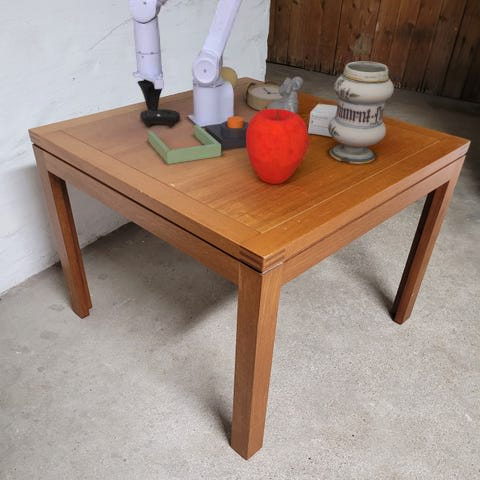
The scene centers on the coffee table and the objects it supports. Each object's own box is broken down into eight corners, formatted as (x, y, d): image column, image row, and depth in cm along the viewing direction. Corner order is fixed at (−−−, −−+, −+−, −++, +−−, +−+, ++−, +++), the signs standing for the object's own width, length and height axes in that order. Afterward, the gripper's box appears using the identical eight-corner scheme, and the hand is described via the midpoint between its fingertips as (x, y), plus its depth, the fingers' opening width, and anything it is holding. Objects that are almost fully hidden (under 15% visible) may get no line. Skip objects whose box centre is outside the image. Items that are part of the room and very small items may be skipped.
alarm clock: (258, 102, 130) (237, 76, 138) (256, 120, 133) (235, 94, 142) (297, 98, 133) (274, 73, 142) (294, 116, 137) (271, 90, 146)
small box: (306, 133, 121) (309, 111, 118) (315, 124, 127) (318, 102, 123) (339, 139, 119) (342, 116, 116) (346, 128, 125) (350, 107, 121)
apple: (307, 171, 104) (315, 103, 95) (300, 196, 95) (307, 123, 87) (251, 165, 106) (253, 97, 97) (238, 188, 97) (240, 116, 88)
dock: (198, 135, 119) (198, 124, 117) (221, 156, 109) (221, 144, 108) (148, 142, 114) (147, 130, 113) (167, 164, 105) (167, 152, 103)
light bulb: (225, 113, 131) (225, 71, 125) (208, 107, 134) (207, 66, 128) (242, 108, 135) (243, 67, 129) (224, 102, 138) (224, 62, 132)
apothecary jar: (318, 160, 109) (330, 69, 97) (331, 141, 117) (344, 56, 106) (375, 170, 105) (394, 76, 94) (384, 150, 114) (402, 62, 103)
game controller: (180, 114, 127) (178, 101, 121) (180, 135, 126) (179, 123, 120) (141, 114, 126) (137, 101, 120) (141, 134, 126) (137, 123, 120)
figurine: (261, 116, 130) (263, 71, 124) (300, 120, 129) (304, 74, 122) (255, 126, 124) (257, 79, 117) (296, 130, 122) (300, 83, 116)
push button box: (205, 135, 119) (204, 117, 116) (240, 130, 122) (240, 113, 119) (222, 150, 112) (222, 132, 109) (259, 145, 115) (260, 127, 112)
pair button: (224, 125, 114) (224, 117, 113) (239, 123, 115) (239, 115, 114) (231, 130, 111) (231, 122, 110) (246, 128, 112) (246, 120, 111)
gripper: (123, 45, 121) (129, 105, 130) (140, 59, 111) (145, 123, 120) (151, 44, 124) (156, 102, 132) (170, 57, 114) (174, 119, 122)
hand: (152, 112), depth 126 cm, fingers closed
